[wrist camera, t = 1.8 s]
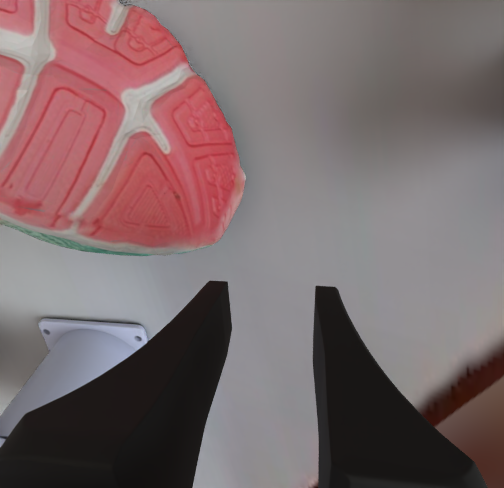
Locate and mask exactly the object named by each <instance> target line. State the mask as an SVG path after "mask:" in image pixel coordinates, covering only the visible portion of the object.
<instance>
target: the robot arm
mask: <svg viewBox="0 0 504 488" xmlns="http://www.w3.org/2000/svg"><path fill="white" fill-rule="evenodd" d="M38 326H39V328H40V331H41V333H42V335H43V337H44V340H45V342H46V344H47V347H48V349H49V351H50V352H49V353H48V355H47V356H46V357H45V358H44V360H43V361H42V362H41V364H40V365H39V366H38V368H37V369H36V370H35V371H34V373H33V374H32V375H31V377H30V378H29V379H28V381H27V382H26V383H25V384H24V386H23V387H22V388H21V390H20V391H19V392H18V394H17V395H16V396H15V397H14V399H13V400H12V401H11V403H10V404H9V405H8V407H7V408H6V409H5V410H4V412H3V413H2V414H1V416H0V488H192V487H193V482H194V476H195V471H196V466H197V461H198V456H199V452H200V447H201V442H202V437H203V433H204V428H205V424H206V421H207V417H208V414H209V410H210V407H211V404H212V401H213V398H214V395H215V392H216V389H217V385H218V382H219V379H220V376H221V373H222V370H223V366H224V363H225V360H226V357H227V352H228V347H229V342H230V336H231V331H232V323H231V313H230V302H229V292H228V282H225V281H209V282H208V283H207V284H206V285H205V286H204V287H203V288H202V289H201V290H200V291H199V292H198V294H197V295H196V296H195V297H194V298H193V299H192V300H191V301H190V302H189V303H188V304H187V305H186V306H185V307H184V309H183V310H182V311H181V312H180V313H179V314H178V315H177V316H176V317H175V318H174V319H173V320H172V321H171V322H170V323H168V324H167V325H166V326H165V327H164V328H163V329H162V330H161V331H160V332H159V333H157V334H156V335H155V336H154V337H153V338H152V339H151V340H149V341H148V339H147V335H146V331H145V329H144V328H143V327H142V326H141V325H136V324H121V323H107V322H92V321H77V320H62V319H47V318H44V319H41V321H40V322H39V323H38ZM138 336H139V337H138ZM313 369H314V381H315V393H316V405H317V417H318V432H319V483H318V488H487V485H486V483H485V481H484V479H483V478H482V475H481V473H480V472H479V470H478V468H477V466H476V464H475V462H474V461H473V460H471V459H470V458H469V457H468V456H467V455H466V454H464V453H463V452H462V451H460V450H459V449H458V448H457V447H456V446H455V445H454V444H452V443H451V442H450V441H449V440H448V439H447V438H445V437H444V436H443V435H442V434H441V433H439V431H438V430H437V429H435V428H434V427H433V426H432V425H431V424H430V423H429V422H428V421H427V420H426V419H425V418H424V417H423V416H422V415H421V414H420V413H419V412H418V411H417V410H416V409H415V407H414V406H413V405H412V404H411V403H410V402H409V401H408V400H407V399H406V398H405V397H404V396H403V395H402V394H401V392H400V391H399V390H398V389H397V388H396V387H395V385H394V384H393V383H392V382H391V381H390V379H389V378H388V377H387V375H386V374H385V373H384V372H383V370H382V369H381V368H380V366H379V365H378V364H377V362H376V361H375V359H374V358H373V356H372V355H371V353H370V352H369V350H368V349H367V347H366V346H365V344H364V343H363V341H362V339H361V338H360V336H359V334H358V332H357V331H356V329H355V327H354V325H353V323H352V322H351V320H350V318H349V316H348V314H347V311H346V309H345V307H344V305H343V302H342V300H341V297H340V294H339V291H338V289H337V288H336V287H326V286H316V291H315V312H314V334H313Z"/></svg>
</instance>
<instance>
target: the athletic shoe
mask: <svg viewBox="0 0 504 488" xmlns="http://www.w3.org/2000/svg"><path fill="white" fill-rule="evenodd" d="M245 180H246V175H245V173H244V171H243V169H242V168H241V166H240V160H239V155H238V152H237V149H236V145H235V141H234V137H233V133H232V129H231V127H230V126H229V125H228V123H227V122H226V120H225V117H224V115H223V113H222V111H221V110H220V108H219V107H218V105H217V103H216V101H215V99H214V97H213V95H212V93H211V92H210V90H209V88H208V86H207V84H206V83H205V81H204V80H203V79H202V78H201V77H199V76H198V75H197V74H196V73H195V72H194V71H193V70H192V68H191V67H190V66H189V63H188V60H187V58H186V56H185V53H184V51H183V49H182V47H181V45H180V44H179V43H178V42H177V40H176V39H175V38H174V37H173V35H172V34H171V33H170V32H169V30H168V29H166V28H165V27H163V26H162V25H161V24H160V23H159V21H158V20H157V19H156V17H155V16H154V15H152V14H151V13H149V12H148V11H146V10H145V9H142V8H139V7H137V6H134V5H128V6H124V5H122V4H121V3H120V2H119V1H118V0H0V224H3V225H5V226H8V227H11V228H13V229H16V230H19V231H21V232H23V233H26V234H28V235H30V236H33V237H35V238H37V239H40V240H42V241H46V242H49V243H52V244H55V245H58V246H61V247H66V248H71V249H75V250H80V251H86V252H95V253H105V254H115V255H133V256H148V255H162V256H167V255H171V254H180V253H186V252H190V251H194V250H198V249H202V248H206V247H209V246H212V245H213V244H214V243H216V242H217V241H218V240H220V239H221V237H222V236H223V234H224V232H225V231H226V229H227V228H228V226H229V224H230V221H231V219H232V217H233V215H234V213H235V211H236V209H237V207H238V205H239V203H240V201H241V199H242V195H243V191H244V187H245V185H244V183H245Z"/></svg>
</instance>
